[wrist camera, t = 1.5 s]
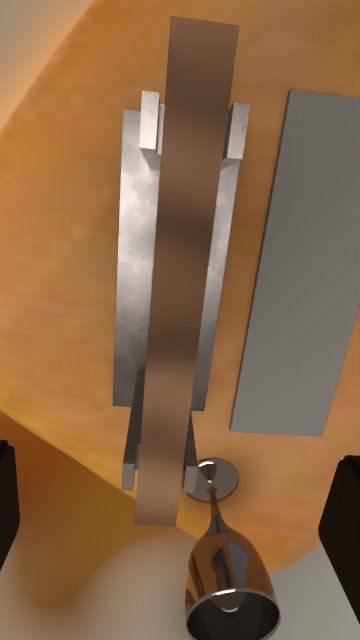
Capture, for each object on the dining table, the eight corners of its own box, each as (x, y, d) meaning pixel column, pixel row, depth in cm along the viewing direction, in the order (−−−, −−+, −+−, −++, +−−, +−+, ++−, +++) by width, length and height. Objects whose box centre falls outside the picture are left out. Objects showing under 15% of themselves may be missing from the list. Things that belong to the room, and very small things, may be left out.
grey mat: (288, 91, 28) (291, 89, 28) (412, 107, 29) (417, 105, 28) (229, 428, 40) (230, 431, 39) (319, 433, 40) (321, 436, 40)
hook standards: (124, 112, 28) (90, 36, 15) (242, 126, 29) (307, 66, 16) (114, 399, 38) (87, 508, 24) (202, 404, 38) (223, 512, 25)
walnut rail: (170, 40, 17) (170, 15, 15) (229, 48, 17) (238, 25, 15) (136, 497, 27) (134, 524, 25) (174, 498, 27) (175, 526, 25)
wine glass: (165, 481, 42) (166, 624, 28) (213, 444, 40) (240, 576, 26) (207, 514, 44) (227, 663, 30) (254, 480, 42) (299, 621, 28)
